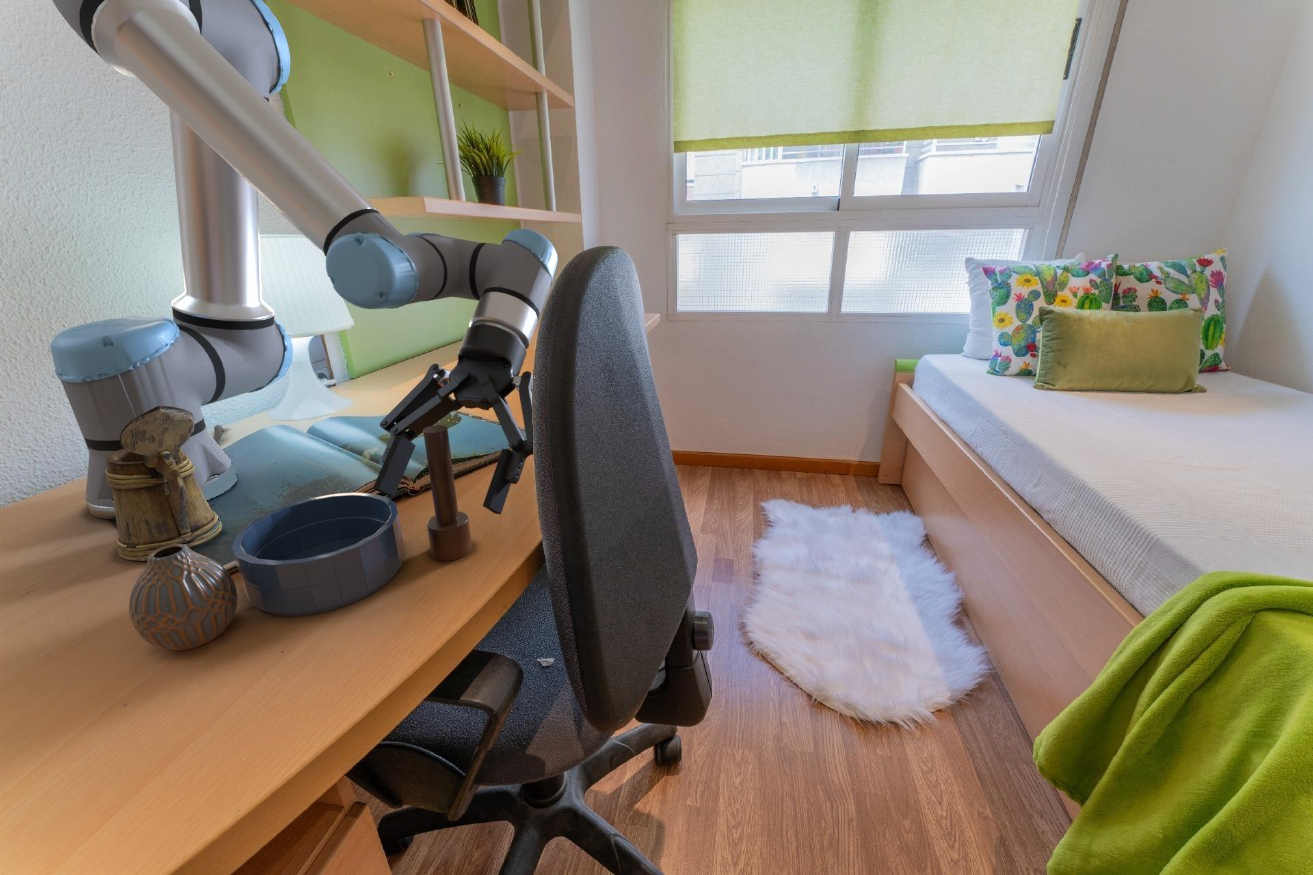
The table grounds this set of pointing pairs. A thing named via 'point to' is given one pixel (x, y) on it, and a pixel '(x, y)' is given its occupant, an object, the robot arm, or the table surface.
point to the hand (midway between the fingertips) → (435, 502)
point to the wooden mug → (157, 486)
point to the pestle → (444, 500)
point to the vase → (182, 599)
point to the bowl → (319, 553)
